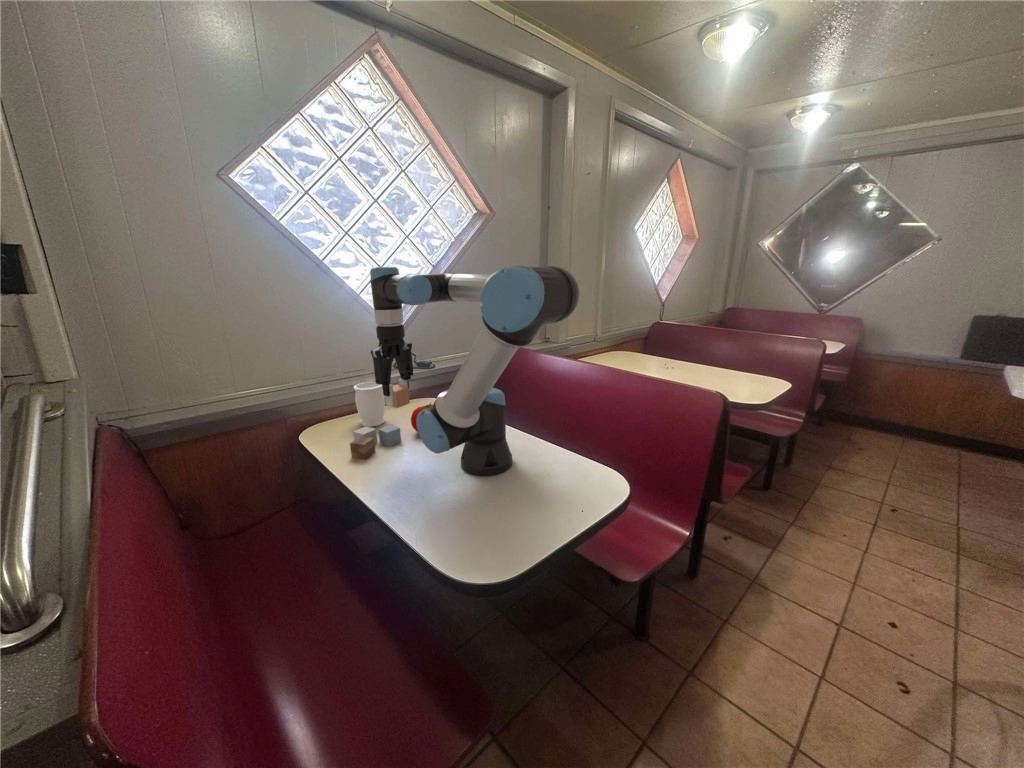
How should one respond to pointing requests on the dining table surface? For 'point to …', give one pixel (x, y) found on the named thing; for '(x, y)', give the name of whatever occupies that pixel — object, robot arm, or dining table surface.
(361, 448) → the walnut cube
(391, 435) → the slate cube
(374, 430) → the grey cube
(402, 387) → the terracotta cube
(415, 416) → the tomato
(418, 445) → the dining table surface
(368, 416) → the jar
